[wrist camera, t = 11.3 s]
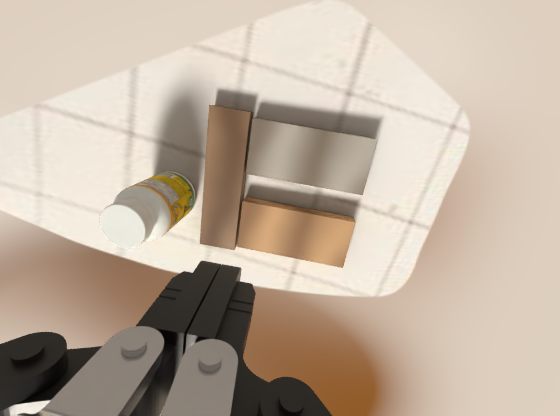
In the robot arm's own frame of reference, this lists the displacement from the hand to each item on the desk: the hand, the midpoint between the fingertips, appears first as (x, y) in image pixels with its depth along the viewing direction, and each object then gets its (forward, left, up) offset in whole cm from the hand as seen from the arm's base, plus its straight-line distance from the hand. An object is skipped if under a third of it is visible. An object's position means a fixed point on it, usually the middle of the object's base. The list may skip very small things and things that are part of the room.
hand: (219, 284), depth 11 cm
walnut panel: (-5, -2, -21) cm, 22 cm away
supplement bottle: (-11, -5, -21) cm, 24 cm away
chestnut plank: (+3, -6, -21) cm, 22 cm away
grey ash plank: (+3, +2, -21) cm, 21 cm away
